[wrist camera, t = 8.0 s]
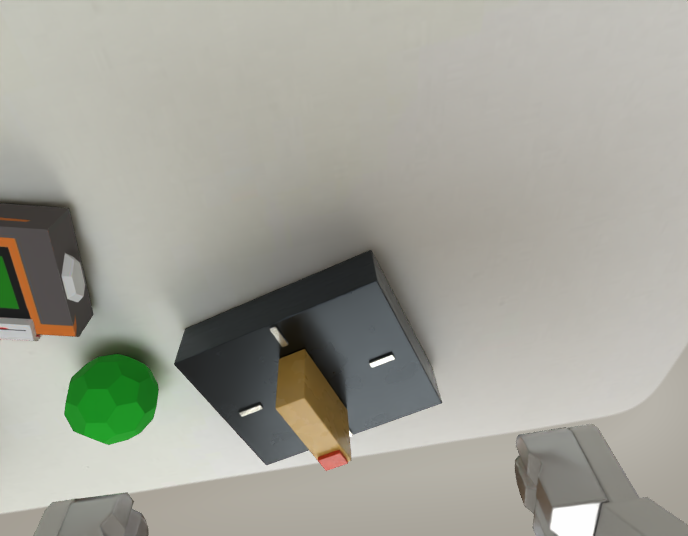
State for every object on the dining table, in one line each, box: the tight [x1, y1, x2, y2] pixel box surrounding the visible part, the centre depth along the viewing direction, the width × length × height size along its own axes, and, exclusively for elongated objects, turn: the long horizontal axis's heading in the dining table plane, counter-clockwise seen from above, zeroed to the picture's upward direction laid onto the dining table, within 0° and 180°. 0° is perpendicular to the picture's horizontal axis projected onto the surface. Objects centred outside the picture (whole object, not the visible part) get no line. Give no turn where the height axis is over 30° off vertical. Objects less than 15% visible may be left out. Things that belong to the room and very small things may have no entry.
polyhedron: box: [64, 354, 159, 445], centre depth 30 cm, size 5×5×5 cm
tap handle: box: [275, 349, 351, 471], centre depth 28 cm, size 6×2×4 cm, turn 25°
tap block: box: [174, 250, 442, 465], centre depth 30 cm, size 12×10×3 cm
